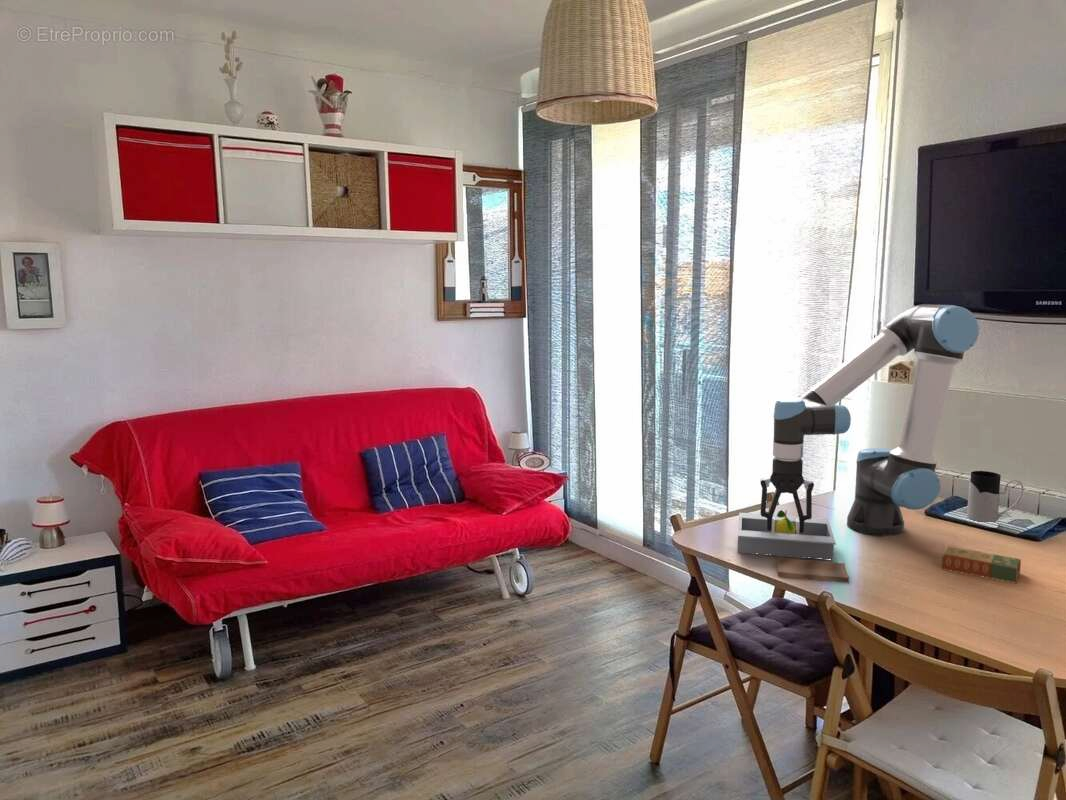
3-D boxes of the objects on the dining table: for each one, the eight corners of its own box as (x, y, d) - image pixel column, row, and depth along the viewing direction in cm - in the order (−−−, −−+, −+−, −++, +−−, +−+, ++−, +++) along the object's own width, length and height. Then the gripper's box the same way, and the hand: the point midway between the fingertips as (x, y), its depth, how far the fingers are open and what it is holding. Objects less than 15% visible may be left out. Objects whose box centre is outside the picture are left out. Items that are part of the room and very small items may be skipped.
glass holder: (961, 518, 237) (965, 469, 235) (1014, 522, 233) (1019, 472, 231) (968, 527, 229) (972, 476, 226) (1024, 531, 225) (1029, 479, 223)
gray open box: (827, 539, 219) (828, 518, 218) (834, 566, 199) (835, 543, 198) (738, 533, 225) (739, 512, 224) (737, 557, 206) (737, 535, 205)
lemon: (775, 540, 216) (777, 504, 215) (798, 543, 214) (799, 507, 212) (769, 547, 211) (770, 511, 209) (792, 551, 208) (793, 514, 206)
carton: (947, 561, 204) (948, 544, 203) (1020, 574, 194) (1021, 557, 193) (941, 570, 197) (942, 553, 196) (1016, 584, 187) (1018, 567, 187)
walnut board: (844, 567, 198) (844, 563, 198) (848, 582, 189) (848, 577, 188) (776, 562, 202) (777, 557, 202) (778, 576, 193) (778, 571, 193)
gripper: (824, 456, 210) (820, 540, 213) (751, 453, 214) (748, 536, 218) (826, 462, 202) (822, 550, 206) (751, 459, 207) (748, 544, 211)
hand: (784, 542), depth 212 cm, fingers closed on lemon, 5 cm apart
